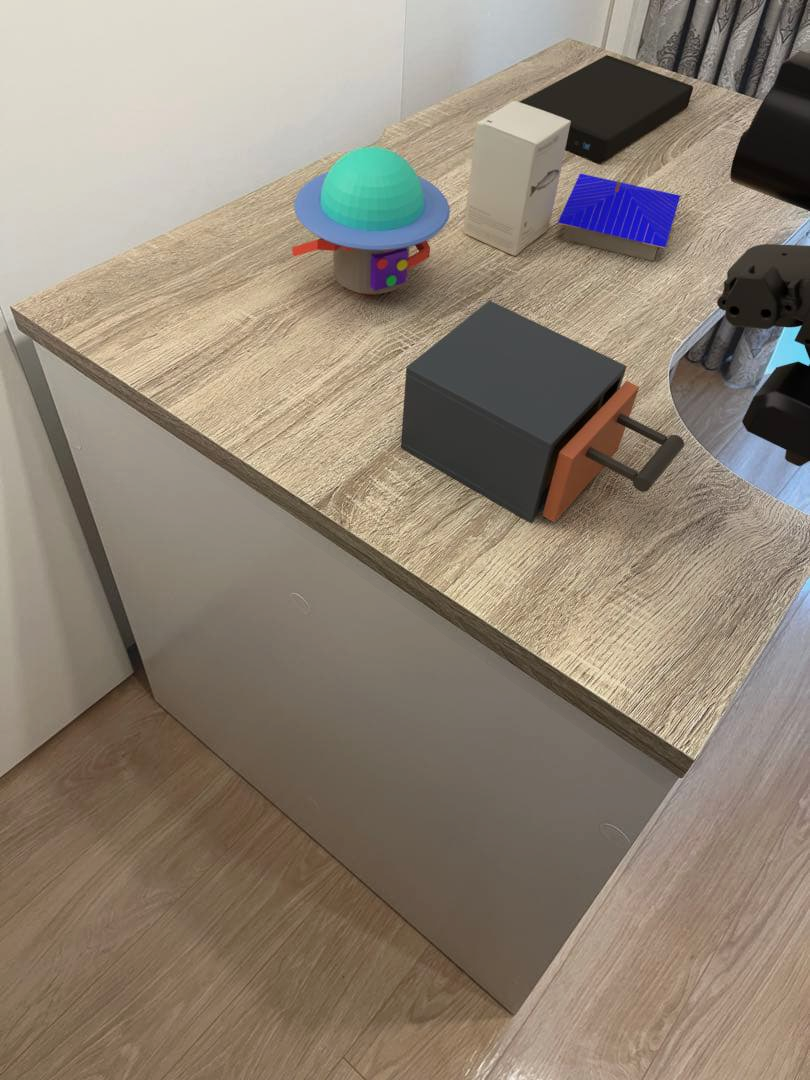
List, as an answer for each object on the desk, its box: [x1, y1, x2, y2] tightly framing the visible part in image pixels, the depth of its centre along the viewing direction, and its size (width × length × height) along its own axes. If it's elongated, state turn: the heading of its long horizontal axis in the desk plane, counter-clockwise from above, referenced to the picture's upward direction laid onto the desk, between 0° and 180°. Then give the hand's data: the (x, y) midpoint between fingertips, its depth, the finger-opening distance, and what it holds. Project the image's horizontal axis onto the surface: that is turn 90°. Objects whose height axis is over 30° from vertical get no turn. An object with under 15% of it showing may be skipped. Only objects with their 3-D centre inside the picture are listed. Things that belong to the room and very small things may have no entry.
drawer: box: [542, 380, 685, 523], centre depth 70 cm, size 18×11×7 cm, turn 53°
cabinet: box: [400, 300, 627, 524], centre depth 72 cm, size 13×12×9 cm
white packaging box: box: [462, 100, 571, 257], centre depth 93 cm, size 7×7×13 cm
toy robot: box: [292, 146, 451, 296], centre depth 84 cm, size 15×15×14 cm
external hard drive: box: [519, 54, 694, 165], centre depth 117 cm, size 14×23×3 cm, turn 140°
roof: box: [557, 173, 681, 262], centre depth 98 cm, size 12×12×5 cm
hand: (797, 455), depth 58 cm, fingers closed
